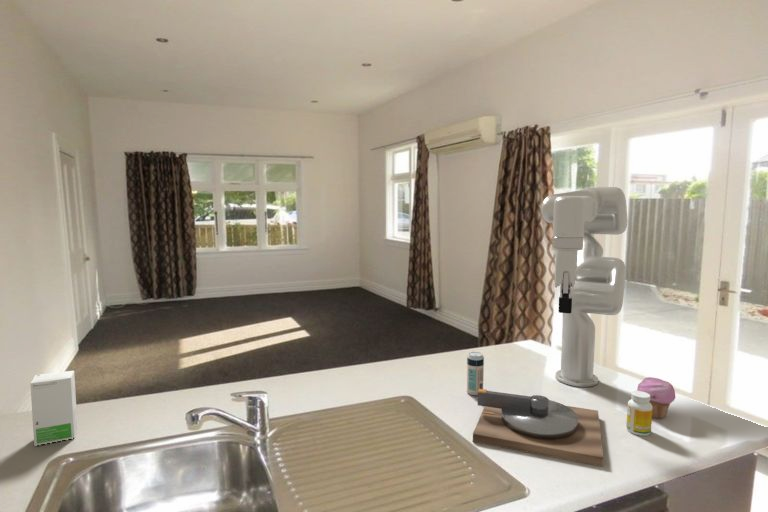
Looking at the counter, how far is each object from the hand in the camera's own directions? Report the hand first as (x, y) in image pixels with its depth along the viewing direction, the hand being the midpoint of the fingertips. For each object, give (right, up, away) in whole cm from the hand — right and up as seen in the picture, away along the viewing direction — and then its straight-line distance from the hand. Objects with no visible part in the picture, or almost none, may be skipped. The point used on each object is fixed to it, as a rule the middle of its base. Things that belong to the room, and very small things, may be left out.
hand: (564, 312), depth 123 cm
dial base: (-10, -28, -8) cm, 31 cm away
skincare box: (-128, -30, -10) cm, 132 cm away
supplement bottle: (+15, -29, -9) cm, 33 cm away
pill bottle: (-21, -26, +14) cm, 36 cm away
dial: (-13, -26, -7) cm, 30 cm away
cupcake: (+23, -27, -1) cm, 36 cm away
